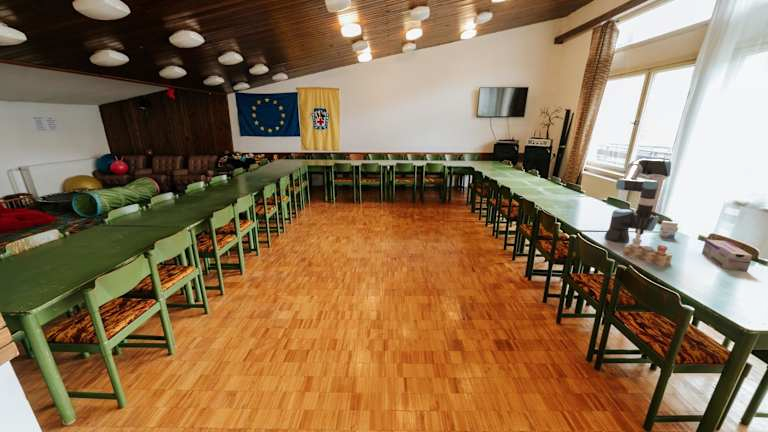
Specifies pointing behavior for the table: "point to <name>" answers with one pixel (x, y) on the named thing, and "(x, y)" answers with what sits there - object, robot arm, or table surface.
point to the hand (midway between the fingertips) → (637, 238)
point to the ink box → (668, 229)
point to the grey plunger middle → (648, 248)
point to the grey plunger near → (636, 243)
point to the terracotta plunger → (661, 250)
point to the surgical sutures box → (727, 255)
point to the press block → (647, 255)
